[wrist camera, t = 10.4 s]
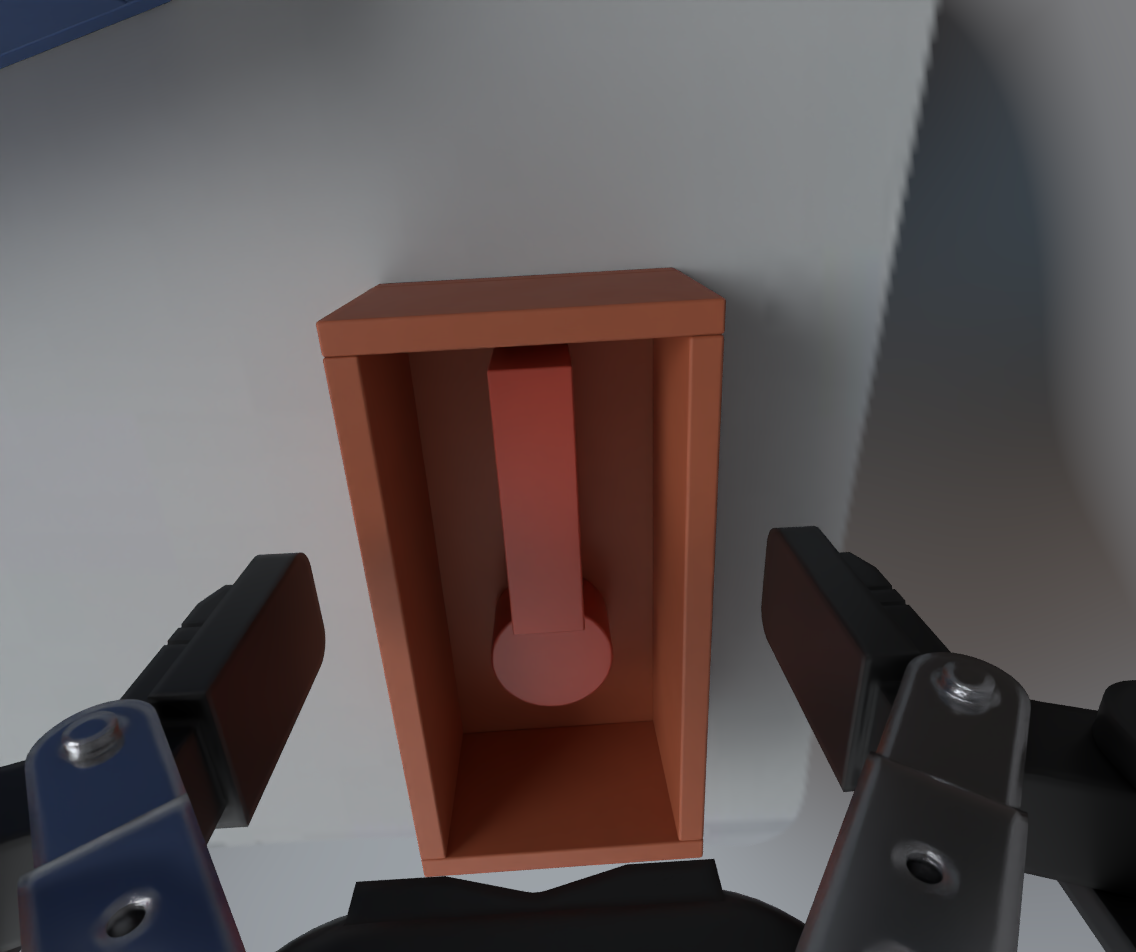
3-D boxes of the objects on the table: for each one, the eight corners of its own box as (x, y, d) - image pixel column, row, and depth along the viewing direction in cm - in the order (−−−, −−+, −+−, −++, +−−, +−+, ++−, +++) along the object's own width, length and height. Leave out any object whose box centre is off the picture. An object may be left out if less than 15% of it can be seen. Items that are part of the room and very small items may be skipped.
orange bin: (376, 283, 15) (314, 322, 11) (674, 266, 15) (727, 298, 11) (447, 734, 20) (424, 878, 16) (669, 719, 20) (703, 858, 16)
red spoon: (464, 340, 15) (448, 373, 13) (597, 333, 15) (609, 363, 13) (500, 665, 19) (493, 741, 16) (608, 657, 19) (619, 733, 16)
